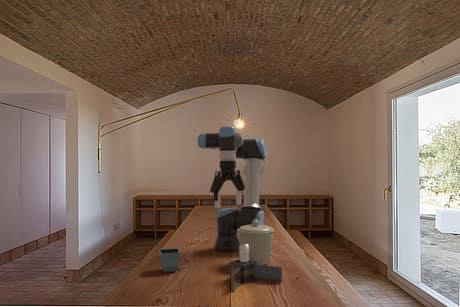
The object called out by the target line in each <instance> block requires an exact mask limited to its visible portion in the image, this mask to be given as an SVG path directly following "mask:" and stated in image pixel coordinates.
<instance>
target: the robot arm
mask: <svg viewBox="0 0 460 307" xmlns="http://www.w3.org/2000/svg"><path fill="white" fill-rule="evenodd" d="M218 131H219V132H217V133H215V132H213V133H211V132H210V133H209V132H207V133H206V132H205V133H199V134H198V136H197V146H198V148H199V149H204V150H205V149H210V150H213V151H217V152H219V160H220V161H219V170H215V172H214V178H213V180H212V183H211V186H210V189H209V192H210V193H212V194H213V201H214V208H215V209H219V210H218V211H217V215H216V216H217V217H216V230H217V231H216V234H217V235H216V239H215V243H214V245H213V246H214V248H213V249H214V250H215V251H217V252H223V253H224V252H225V253H227V252H228V253H230V252H238V251H240V240H239V233H238V231H237V229H238V228H240V227H241V226H244V225H253V224H252V221H253V220H258V221H259V225H264V222H265V212H264V211H263V210H262V207H261V205H260V192H261V191H260V188H261V172H262V171H261V169H262V168H261V167H262V164H263V163H264V161H265V160H266V159H267V158H268V157H267V156H268V150H267V145H266V142H265V140H264V139H262V138H251V139H250V138H249V139H247V138H246V139H244V138H243V135H242V134H241V133H238V132H236V127H234V126H221V127H219V130H218ZM236 159H241V160H242V159H243V161H244V162H243V163H245V180H244V181H245V182H244V181H243V178H242V175H241V170H240V169H236V168H237V161H236ZM227 181H231V182H232V184H233V186H234V187H235V189H236V190H235V205H239V206H241V207H240V210H239V209H238V207H227V208H221V193H219V192H221V191H220V190H221V189H222V188H223V186H224V183H225V182H227ZM243 191H244V195H243ZM243 196H244V198H243V205H242V197H243Z"/></svg>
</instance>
